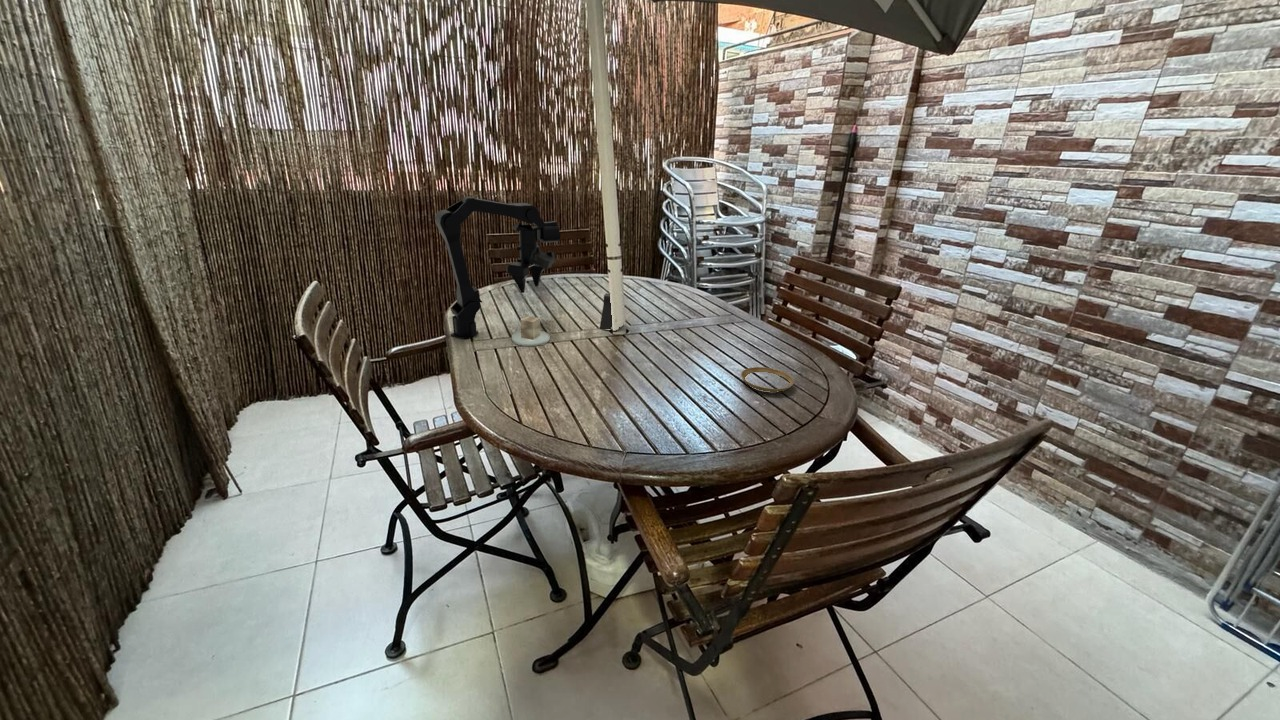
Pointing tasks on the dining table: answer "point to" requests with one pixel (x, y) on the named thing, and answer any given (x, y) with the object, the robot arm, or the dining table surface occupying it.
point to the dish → (529, 342)
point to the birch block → (530, 327)
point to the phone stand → (606, 313)
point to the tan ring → (769, 370)
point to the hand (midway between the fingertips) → (529, 289)
